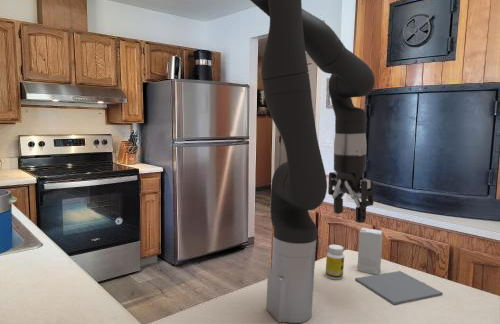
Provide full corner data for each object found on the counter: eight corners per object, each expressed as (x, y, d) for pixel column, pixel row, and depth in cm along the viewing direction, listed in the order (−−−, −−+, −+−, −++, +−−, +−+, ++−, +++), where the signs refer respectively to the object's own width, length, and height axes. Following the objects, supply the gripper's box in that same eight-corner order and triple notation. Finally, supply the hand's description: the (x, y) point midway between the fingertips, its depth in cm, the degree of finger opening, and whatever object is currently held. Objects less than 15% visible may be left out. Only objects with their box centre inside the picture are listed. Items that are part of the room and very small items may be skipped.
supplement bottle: (343, 281, 97) (345, 250, 96) (325, 278, 98) (327, 248, 97) (342, 273, 102) (344, 245, 101) (325, 271, 103) (327, 243, 102)
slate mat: (394, 305, 85) (394, 302, 85) (355, 280, 98) (355, 278, 98) (442, 295, 91) (442, 292, 91) (399, 272, 104) (400, 270, 104)
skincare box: (380, 270, 105) (384, 230, 104) (378, 276, 101) (382, 234, 100) (358, 266, 108) (362, 226, 107) (356, 271, 104) (359, 230, 103)
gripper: (320, 150, 92) (319, 212, 94) (356, 156, 79) (355, 227, 81) (344, 148, 95) (343, 208, 97) (383, 153, 82) (381, 223, 84)
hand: (348, 217), depth 89 cm, fingers open, 8 cm apart
